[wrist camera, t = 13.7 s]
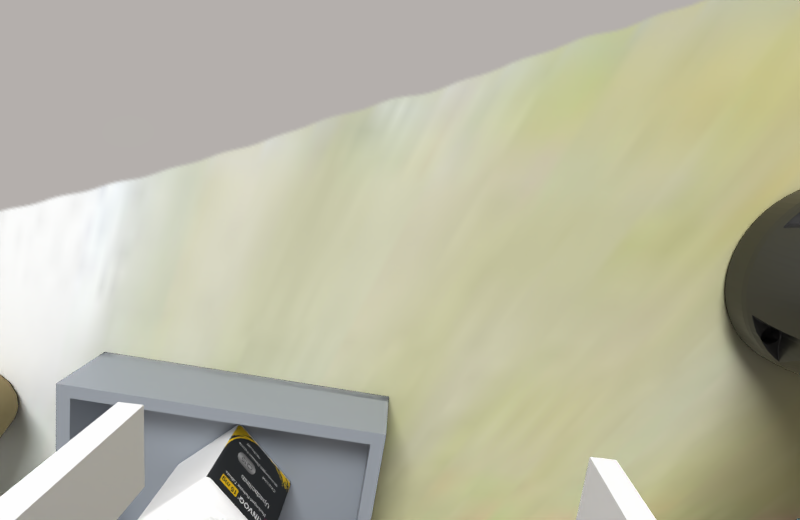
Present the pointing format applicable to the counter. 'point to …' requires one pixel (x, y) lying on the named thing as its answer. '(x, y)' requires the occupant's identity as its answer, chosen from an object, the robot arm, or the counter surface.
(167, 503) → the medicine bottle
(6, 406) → the squeeze bottle
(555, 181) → the counter surface
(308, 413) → the grey box
